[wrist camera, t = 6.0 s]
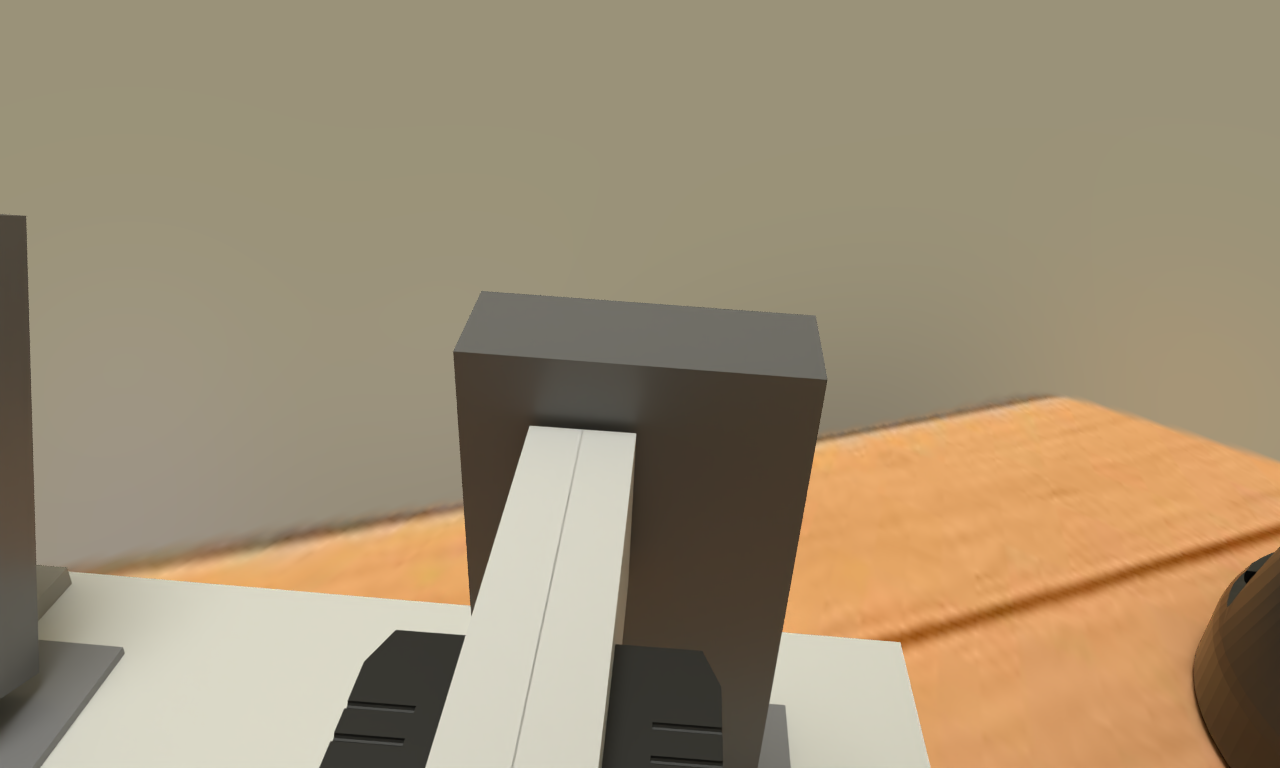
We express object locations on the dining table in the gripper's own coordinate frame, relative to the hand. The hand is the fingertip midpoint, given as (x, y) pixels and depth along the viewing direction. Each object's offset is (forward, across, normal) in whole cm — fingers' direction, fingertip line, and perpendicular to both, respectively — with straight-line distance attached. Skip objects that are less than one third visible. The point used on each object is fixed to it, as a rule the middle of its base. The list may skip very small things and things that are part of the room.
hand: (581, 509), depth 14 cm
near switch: (+2, +1, -8) cm, 8 cm away
